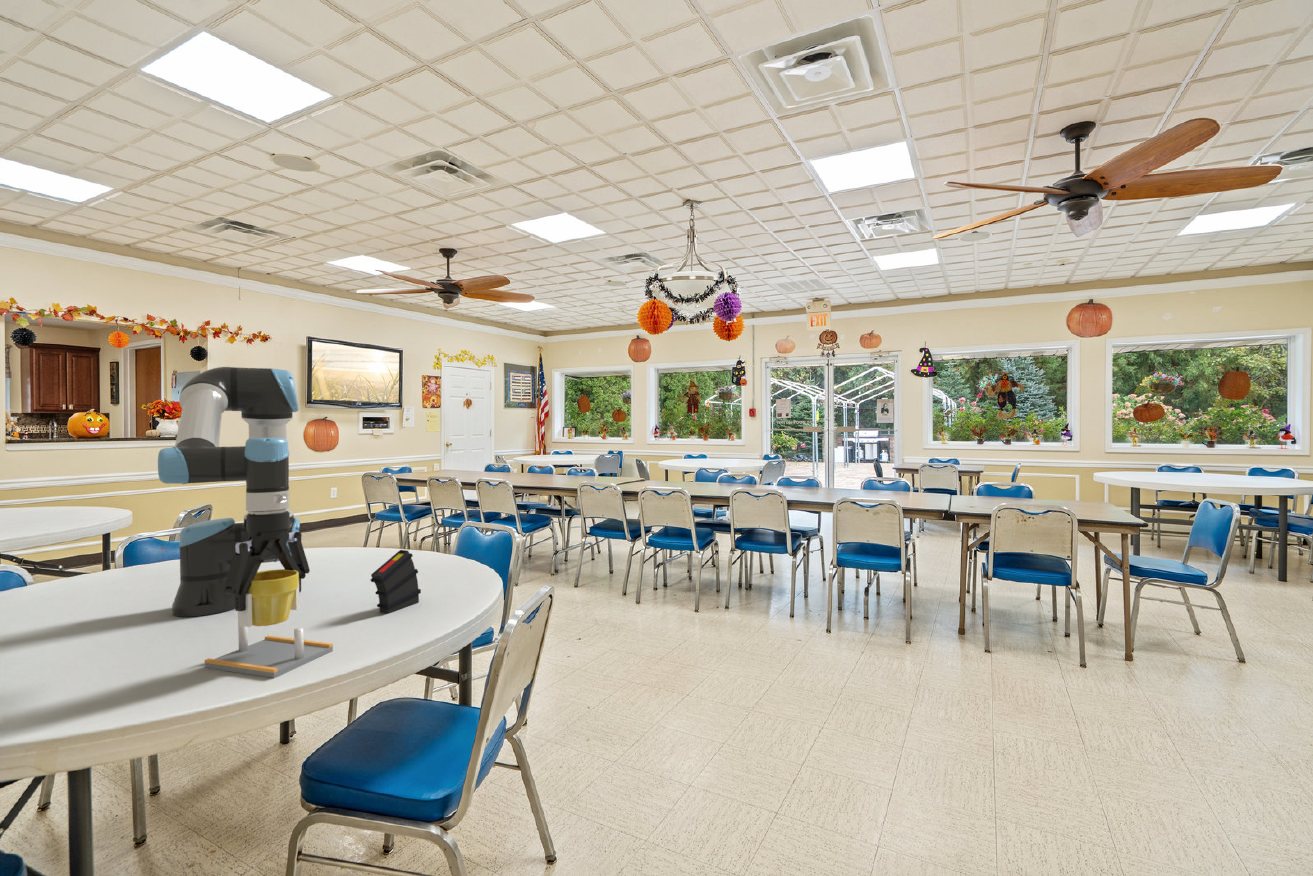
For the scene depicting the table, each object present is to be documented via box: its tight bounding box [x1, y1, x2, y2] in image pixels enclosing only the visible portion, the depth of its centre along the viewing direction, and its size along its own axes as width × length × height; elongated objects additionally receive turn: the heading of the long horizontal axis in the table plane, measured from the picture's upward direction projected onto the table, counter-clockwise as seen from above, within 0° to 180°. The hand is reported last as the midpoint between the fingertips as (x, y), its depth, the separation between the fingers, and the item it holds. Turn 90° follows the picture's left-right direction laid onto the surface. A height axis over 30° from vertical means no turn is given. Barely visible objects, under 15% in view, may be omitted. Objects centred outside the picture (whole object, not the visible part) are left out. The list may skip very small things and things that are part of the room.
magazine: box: [370, 549, 422, 614], centre depth 155 cm, size 4×13×15 cm, turn 157°
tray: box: [203, 625, 334, 679], centre depth 121 cm, size 18×14×7 cm
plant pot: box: [247, 568, 299, 627], centre depth 121 cm, size 10×10×10 cm
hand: (270, 617), depth 121 cm, fingers closed on plant pot, 10 cm apart
